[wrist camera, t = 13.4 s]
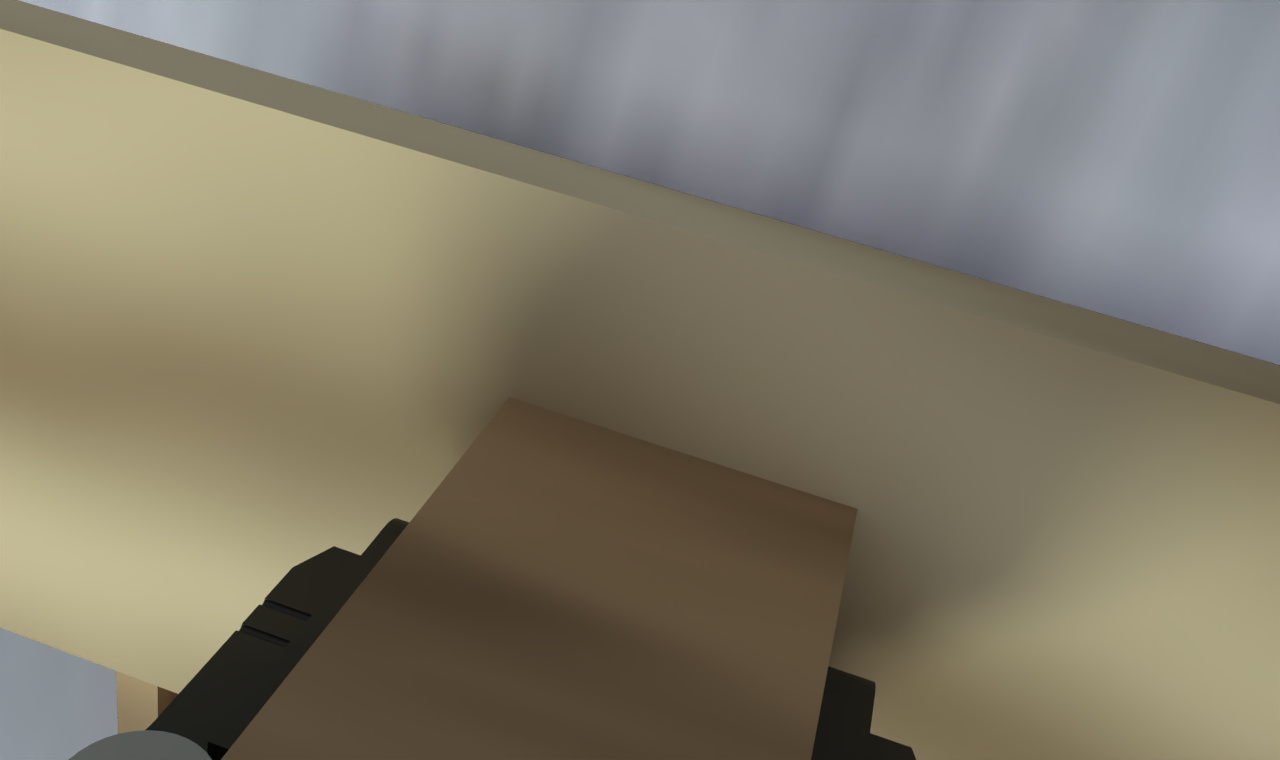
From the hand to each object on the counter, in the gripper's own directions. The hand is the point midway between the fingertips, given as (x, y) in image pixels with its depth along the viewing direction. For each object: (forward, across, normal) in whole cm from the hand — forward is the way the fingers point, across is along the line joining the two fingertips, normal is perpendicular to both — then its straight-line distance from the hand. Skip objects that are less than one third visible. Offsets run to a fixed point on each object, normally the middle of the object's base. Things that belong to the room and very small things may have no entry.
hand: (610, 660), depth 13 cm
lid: (+2, 0, 0) cm, 2 cm away
